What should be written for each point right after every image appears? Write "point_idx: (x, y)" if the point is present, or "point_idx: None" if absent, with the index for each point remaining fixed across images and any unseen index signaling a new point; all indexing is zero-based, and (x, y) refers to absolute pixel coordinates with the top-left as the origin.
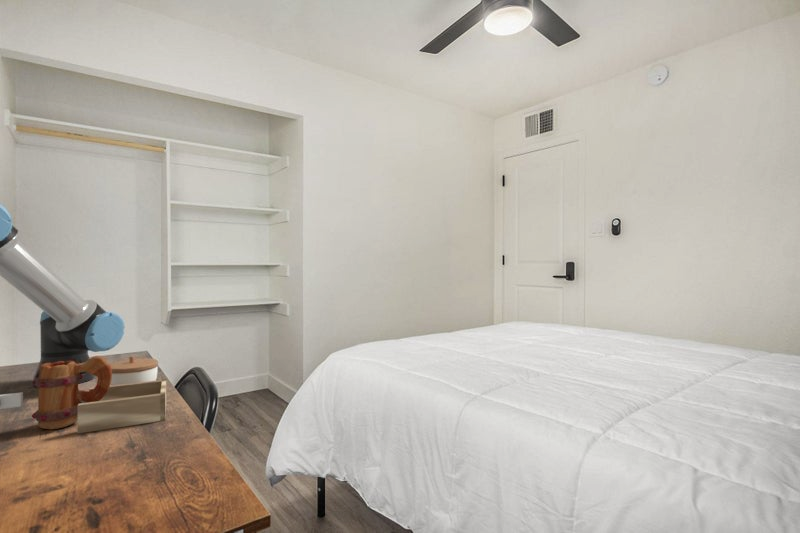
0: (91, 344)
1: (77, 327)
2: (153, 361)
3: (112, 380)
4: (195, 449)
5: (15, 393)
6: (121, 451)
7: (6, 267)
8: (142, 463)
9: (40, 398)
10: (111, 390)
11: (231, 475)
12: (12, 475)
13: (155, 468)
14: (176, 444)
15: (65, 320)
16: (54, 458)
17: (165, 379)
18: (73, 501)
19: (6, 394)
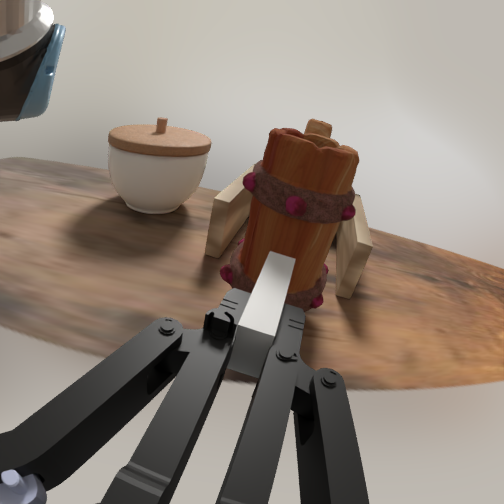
0: (43, 96)
1: (30, 49)
2: (184, 129)
3: (175, 174)
4: (453, 258)
5: (272, 262)
6: (446, 289)
7: None
8: (478, 288)
9: (314, 254)
10: (241, 196)
11: (498, 267)
12: (495, 376)
13: (488, 286)
14: (438, 260)
15: (10, 30)
16: (453, 337)
17: (255, 164)
18: None
19: (266, 277)
